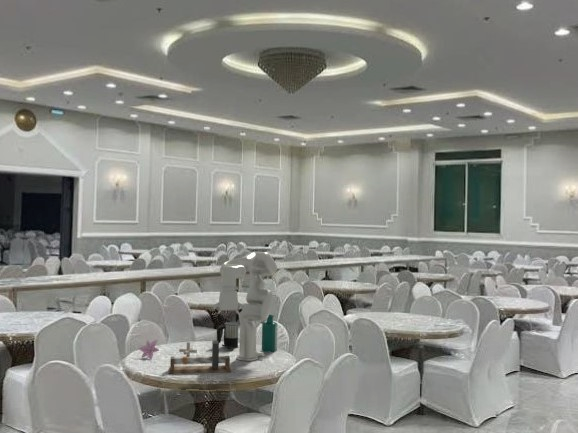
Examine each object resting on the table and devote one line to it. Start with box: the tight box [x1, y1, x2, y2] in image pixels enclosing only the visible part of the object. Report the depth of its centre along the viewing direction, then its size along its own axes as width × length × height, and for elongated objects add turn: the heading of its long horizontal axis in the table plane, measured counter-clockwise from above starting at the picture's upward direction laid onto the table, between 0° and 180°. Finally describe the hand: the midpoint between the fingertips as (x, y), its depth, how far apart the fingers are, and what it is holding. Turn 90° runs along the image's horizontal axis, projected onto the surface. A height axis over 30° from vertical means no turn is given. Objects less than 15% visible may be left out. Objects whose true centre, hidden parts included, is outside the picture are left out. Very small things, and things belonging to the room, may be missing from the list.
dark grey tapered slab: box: [211, 340, 220, 369], centre depth 328 cm, size 3×8×14 cm, turn 10°
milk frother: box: [216, 321, 240, 351], centre depth 381 cm, size 14×16×15 cm
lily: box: [137, 339, 160, 360], centre depth 353 cm, size 12×12×10 cm
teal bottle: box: [261, 314, 278, 353], centre depth 377 cm, size 10×8×22 cm
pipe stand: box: [168, 355, 232, 375], centre depth 326 cm, size 32×11×7 cm, turn 100°
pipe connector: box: [179, 341, 198, 357], centre depth 349 cm, size 10×10×10 cm
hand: (228, 321), depth 329 cm, fingers open, 8 cm apart
